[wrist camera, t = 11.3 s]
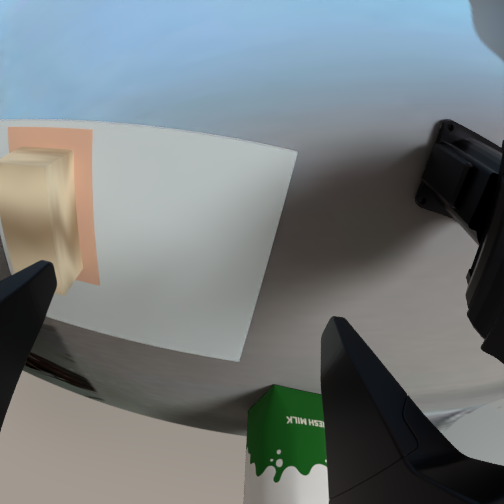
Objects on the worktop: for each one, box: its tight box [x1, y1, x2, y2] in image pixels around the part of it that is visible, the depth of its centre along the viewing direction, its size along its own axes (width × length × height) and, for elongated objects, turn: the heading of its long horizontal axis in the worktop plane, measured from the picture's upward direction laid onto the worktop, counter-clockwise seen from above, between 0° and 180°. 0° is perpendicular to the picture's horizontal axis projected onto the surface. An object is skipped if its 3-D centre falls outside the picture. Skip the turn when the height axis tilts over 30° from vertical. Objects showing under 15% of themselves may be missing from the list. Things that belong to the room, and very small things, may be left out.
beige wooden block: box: [0, 147, 83, 296], centre depth 19 cm, size 10×5×4 cm, turn 169°
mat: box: [0, 119, 298, 362], centre depth 23 cm, size 24×20×1 cm
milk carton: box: [244, 385, 330, 504], centre depth 26 cm, size 9×9×20 cm
